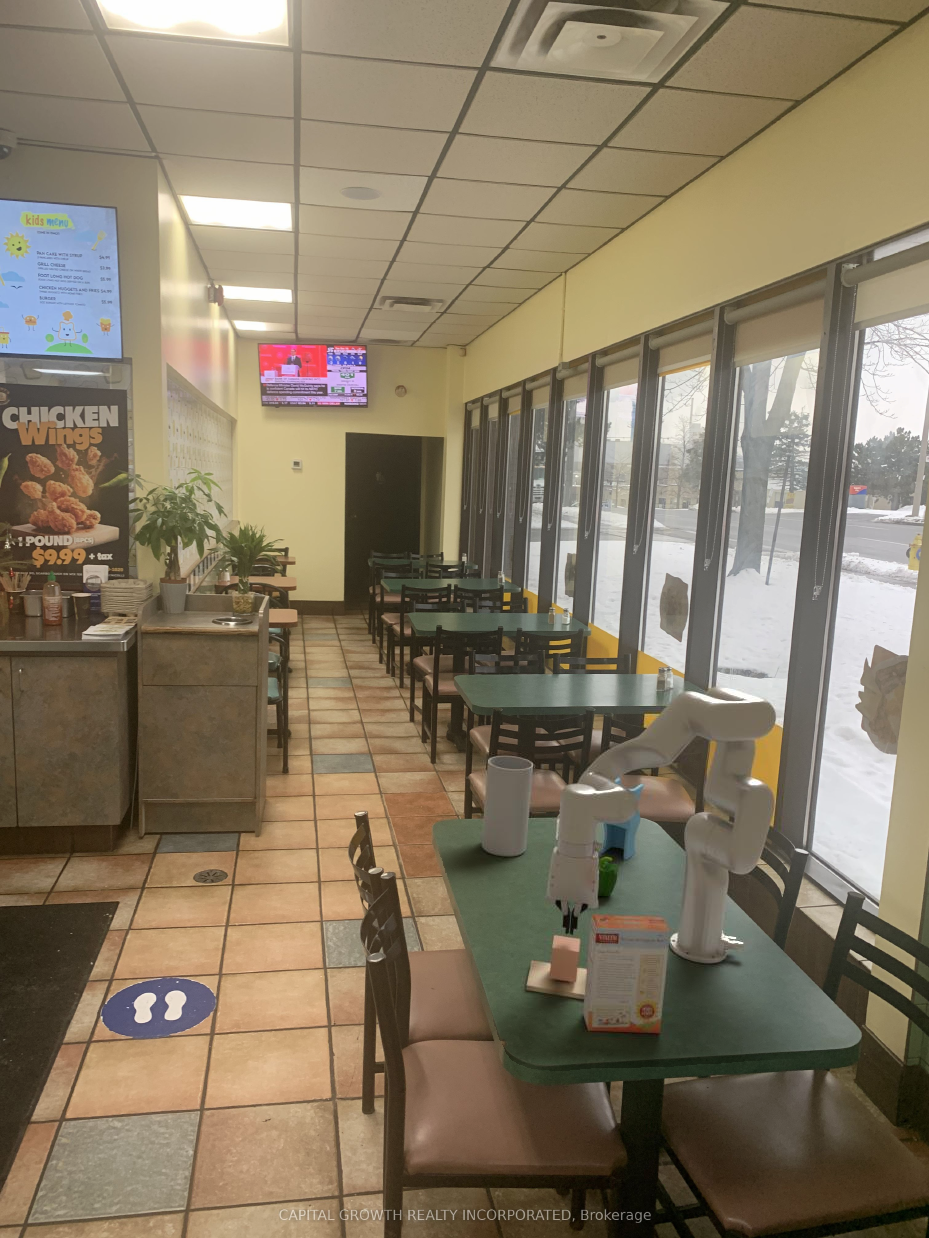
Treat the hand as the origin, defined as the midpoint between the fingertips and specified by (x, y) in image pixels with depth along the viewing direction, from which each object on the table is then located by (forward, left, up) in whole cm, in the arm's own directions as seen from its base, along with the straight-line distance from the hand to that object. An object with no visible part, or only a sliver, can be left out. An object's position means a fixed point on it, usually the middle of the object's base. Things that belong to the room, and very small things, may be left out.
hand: (569, 930), depth 183 cm
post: (0, 0, -11) cm, 11 cm away
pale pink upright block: (0, 0, -9) cm, 9 cm away
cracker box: (-11, +12, -11) cm, 20 cm away
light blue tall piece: (-11, -74, -11) cm, 75 cm away
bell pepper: (-6, -45, -11) cm, 46 cm away
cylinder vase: (+21, -65, -11) cm, 69 cm away
